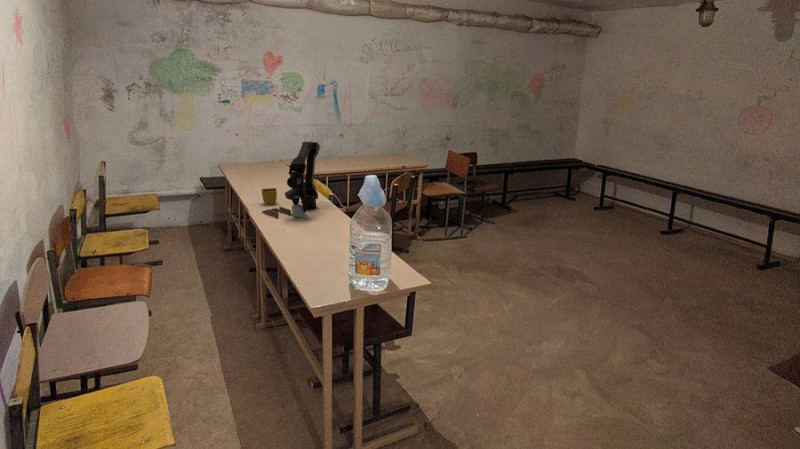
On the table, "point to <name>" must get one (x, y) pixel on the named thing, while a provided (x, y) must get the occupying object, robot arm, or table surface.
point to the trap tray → (272, 210)
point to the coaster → (302, 216)
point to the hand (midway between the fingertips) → (300, 211)
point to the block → (297, 210)
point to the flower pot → (269, 196)
